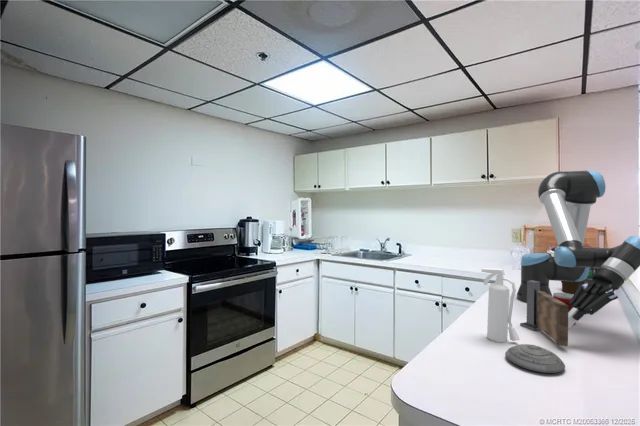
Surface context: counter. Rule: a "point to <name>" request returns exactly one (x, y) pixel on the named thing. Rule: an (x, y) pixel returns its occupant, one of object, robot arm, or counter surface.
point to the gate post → (532, 306)
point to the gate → (552, 317)
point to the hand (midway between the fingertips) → (565, 324)
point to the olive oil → (570, 286)
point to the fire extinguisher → (499, 307)
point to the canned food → (564, 298)
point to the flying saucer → (535, 358)
